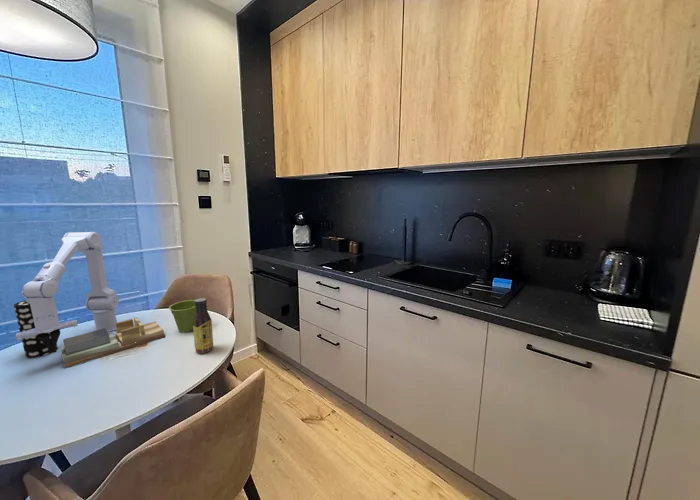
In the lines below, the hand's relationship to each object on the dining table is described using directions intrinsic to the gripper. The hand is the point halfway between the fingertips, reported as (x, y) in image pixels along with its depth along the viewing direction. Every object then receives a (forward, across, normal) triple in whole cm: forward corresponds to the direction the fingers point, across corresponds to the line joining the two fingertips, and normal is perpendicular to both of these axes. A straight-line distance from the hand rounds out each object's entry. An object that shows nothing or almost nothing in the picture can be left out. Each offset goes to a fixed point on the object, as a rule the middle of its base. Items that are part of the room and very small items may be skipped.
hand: (53, 351), depth 101 cm
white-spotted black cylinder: (+5, -3, +14) cm, 15 cm away
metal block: (+1, +9, 0) cm, 9 cm away
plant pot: (+5, +41, -6) cm, 42 cm away
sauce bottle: (+5, +39, -30) cm, 49 cm away
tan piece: (+4, +17, 0) cm, 18 cm away
